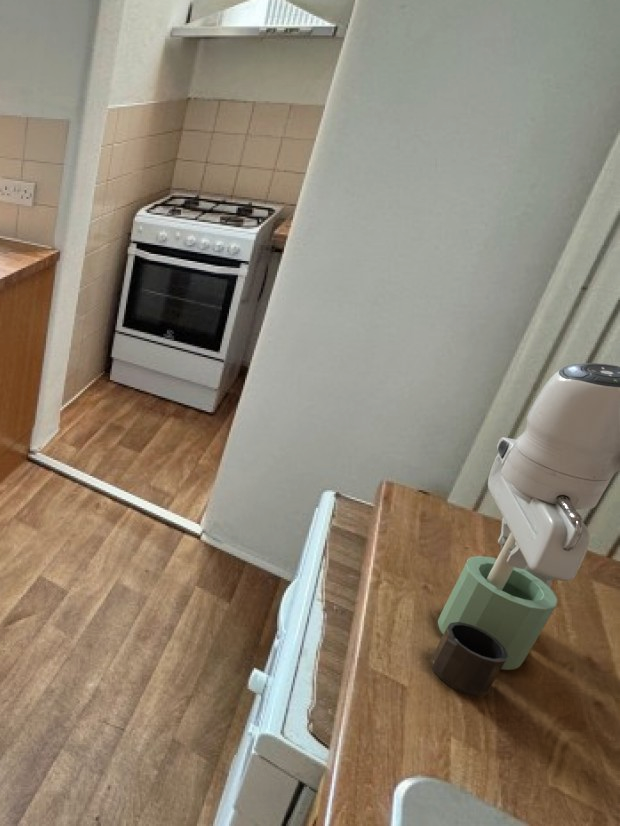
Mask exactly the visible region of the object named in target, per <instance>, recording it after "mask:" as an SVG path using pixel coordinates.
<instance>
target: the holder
mask: <svg viewBox="0 0 620 826" xmlns="http://www.w3.org/2000/svg"><path fill="white" fill-rule="evenodd" d="M507 658H508V654H507V651H506V649H505V647H504V646H503V645H502V644H501V643H500V642H499V641H498V640H497V639H496V638H494V637H493V636H491V635H490V634H488V633H487V632H486V631H484V630H482V629H480V628H477V627H475V626H473V625H471V624H466V623H462V622H453V623H450V624H449V625H448V627H447V629H446V630H445V632H444V634H442V637H441V638H440V641H439V643H438V645H437V646H436V648H435V650H434V652H433V654H432V656H431V659H430V666H431V669H432V671H433V672H434V674H435V675H436V677H438V678H439V679H440V680H441V681H442V682H443V683H444V684H446V685H447V686H448V687H450V688H452V689H453V690H455V691H457V692H459V693H461V694H464V695H466V696H468V697H469V696H470V697H474V698H482V697H485V696H487V694H488V693H489V691H490V689H491V687H492V686H493V684H494V682H495V681H496V679H497V677H498V676H499V674H500V672H501V670H502V669H501V668H502V667H503V665H504V663H505V661H506V660H507Z"/></svg>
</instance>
